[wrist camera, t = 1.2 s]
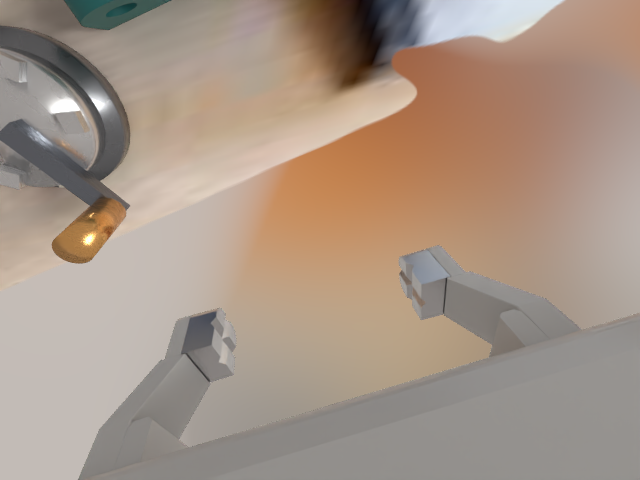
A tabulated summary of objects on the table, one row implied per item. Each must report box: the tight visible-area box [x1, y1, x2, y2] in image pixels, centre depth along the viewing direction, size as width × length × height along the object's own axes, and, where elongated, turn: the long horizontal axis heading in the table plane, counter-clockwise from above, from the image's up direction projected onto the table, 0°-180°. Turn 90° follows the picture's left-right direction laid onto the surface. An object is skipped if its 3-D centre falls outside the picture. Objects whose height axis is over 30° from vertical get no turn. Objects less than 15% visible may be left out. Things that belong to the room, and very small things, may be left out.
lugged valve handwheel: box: [0, 46, 130, 263], centre depth 25 cm, size 18×12×12 cm
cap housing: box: [0, 26, 130, 188], centre depth 29 cm, size 15×15×2 cm
